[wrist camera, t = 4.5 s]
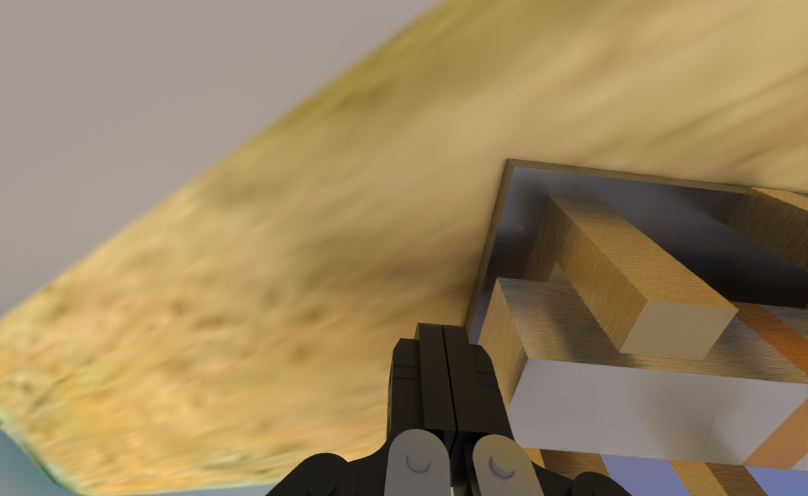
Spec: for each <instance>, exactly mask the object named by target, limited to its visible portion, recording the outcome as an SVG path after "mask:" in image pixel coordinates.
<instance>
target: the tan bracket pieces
mask: <svg viewBox="0 0 808 496" xmlns="http://www.w3.org/2000/svg"><path fill="white" fill-rule="evenodd" d="M522 280H530V281H539V282H549V283H559V284H568V285H573V287H574V288H575V289H576V291H577V292H578V294H579V295H580V297H581V298H582V300H583V301H584V302H585V304H586V305H587V307H588V308H589V310H590V311H591V313H592V314H593V316H594V317H595V318H596V320H597V321H598V323H599V324H600V326H601V327H602V329H603V330H604V331H605V333H606V334H607V336H608V337H609V339H610V340H611V342H612V343H613V345H614V346H615V347H616V349H617V350H618V352H621V353H632V354H642V355H653V356H663V357H674V358H685V359H695V360H703V358H704V357H705V356H706V354H707V353H708V351H709V350H710V349H711V347H712V346H713V345H714V343H715V342H716V340H717V339H718V338H719V336H720V335H721V334H722V332H723V331H724V329H725V328H726V327H727V325H728V324H729V323H730V321H731V320H732V318H733V317H734V316H735V314H736V313H737V312H738V310H739V309H738V308H736V307H735V306H734V305H733V304H731V303H730V302H729V301H728V300H726V299H725V298H724V297H723V296H721V295H720V294H719V293H718V292H716V291H715V290H714V289H712V288H711V287H710V286H709V285H707V284H706V283H705V282H704V281H702V280H701V279H700V278H699V277H697V276H696V275H695V274H694V273H692V272H691V271H690V270H689V269H687V268H686V267H685V266H684V265H682V264H681V263H680V262H678V261H677V260H676V259H675V258H673V257H672V256H671V255H670V254H668V253H667V252H666V251H665V250H663V249H662V248H661V247H660V246H658V245H657V244H656V243H655V242H653V241H652V240H651V239H649V238H648V237H647V236H646V235H644V234H643V233H642V232H641V231H639V230H638V229H637V228H636V227H634V226H633V225H632V224H631V223H629V222H628V221H627V220H626V219H624V218H623V217H622V216H620V215H619V214H618V213H617V212H615V211H614V210H613V209H612V208H610V207H609V206H608V205H607V204H605V203H604V202H596V201H587V200H579V199H570V198H561V197H552V196H549V199H548V202H547V205H546V208H545V211H544V214H543V217H542V220H541V223H540V226H539V229H538V232H537V235H536V238H535V241H534V244H533V247H532V250H531V253H530V256H529V259H528V262H527V265H526V268H525V271H524V274H523V277H522ZM802 309H808V302H807V303H806V304H805V305H804V306H803V308H802ZM523 450H524V451H525V452H526V453H527V455H528V456H529V458H530V460H532V461H533V462H534V463H536V464H537V465H539V466H541V467H543V468H545V469H547V470H550V471H552V472H555V473H557V474H560V475H562V476H565V477H567V478H570V479H572V480H574V479H575V478H576V476H578V475H579V474H581V473H583V472H597V473H600V474H603V475H605V476H607V477H609V478H610V475H609V473H608V471H607V469H606V467H605V465H604V463H603V461H602V458H601V456H600V454H596V453H583V452H571V451H559V450H547V449H535V448H523Z"/></svg>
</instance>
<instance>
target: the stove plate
mask: <svg viewBox="0 0 808 496" xmlns="http://www.w3.org/2000/svg"><path fill="white" fill-rule="evenodd" d="M747 189H748V187H744V186H735V185H727V184H718V183H710V182H701V181H693V180H684V179H676V178H668V177H659V176H651V175H642V174H634V173H625V172H617V171H608V170H600V169H591V168H583V167H574V166H566V165H557V164H549V163H541V162H532V161H524V160H515V159H507V163H506V167H505V171H504V175H503V179H502V182H501V186H500V190H499V194H498V198H497V202H496V206H495V210H494V214H493V217H492V221H491V225H490V229H489V233H488V237H487V241H486V245H485V249H484V252H483V256H482V260H481V264H480V268H479V272H478V276H477V280H476V284H475V287H474V291H473V295H472V299H471V303H470V307H469V311H468V315H467V319H466V322H465V326H464V327H465V328H466V331H467V335H468V340H469V344H478V341H479V337H480V334H481V330H482V327H483V324H484V320H485V317H486V313H487V310H488V306H489V303H490V300H491V296H492V293H493V289H494V286H495V282H496V279H497V277H501V278H511V279H520V280H522V277H523V274H524V271H525V268H526V265H527V262H528V259H529V256H530V253H531V250H532V247H533V244H534V241H535V238H536V235H537V232H538V229H539V226H540V223H541V220H542V217H543V214H544V211H545V208H546V205H547V202H548V199H549V196H552V197H561V198H570V199H579V200H587V201H596V202H604V203H605V204H607V205H608V206H609V207H610V208H612V209H613V210H614V211H615V212H617V213H618V214H619V215H620V216H622V217H623V218H624V219H626V220H627V221H628V222H629V223H631V224H632V225H633V226H634V227H636V228H637V229H638V230H639V231H641V232H642V233H643V234H644V235H646V236H647V237H648V238H649V239H651V240H652V241H653V242H655V243H656V244H657V245H658V246H660V247H661V248H662V249H663V250H665V251H666V252H667V253H668V254H670V255H671V256H672V257H673V258H675V259H676V260H677V261H678V262H680V263H681V264H682V265H684V266H685V267H686V268H687V269H689V270H690V271H691V272H692V273H694V274H695V275H696V276H697V277H699V278H700V279H701V280H702V281H704V282H705V283H706V284H707V285H709V286H710V287H711V288H712V289H714V290H715V291H716V292H718V293H719V294H720V295H721V296H723V297H724V298H725V299H726V300H728V301H731V302H741V303H751V304H760V305H770V306H779V307H789V308H799V309H802V308H803V306H804V305H805V304H806V303H807V302H808V272H807V271H805V270H803V269H802V268H800V267H798V266H796V265H795V264H793V263H791V262H789V261H787V260H786V259H784V258H782V257H780V256H779V255H777V254H775V253H773V252H771V251H770V250H768V249H766V248H764V247H763V246H761V245H759V244H757V243H755V242H754V241H752V240H750V239H748V238H747V237H745V236H743V235H741V234H739V233H738V232H736V231H734V230H732V229H731V228H729V227H727V226H725V225H726V223H727V222H728V220H729V218H730V217H731V215H732V213H733V212H734V210H735V208H736V207H737V205H738V204H739V202H740V200H741V199H742V197H743V195H744V194H745V192H746V190H747ZM792 193H795V192H792ZM795 194H797V195H800V196H803V197H805V198H808V194H803V193H795Z"/></svg>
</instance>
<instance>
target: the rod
mask: <svg viewBox="0 0 808 496" xmlns="http://www.w3.org/2000/svg"><path fill="white" fill-rule="evenodd" d="M729 302H730V303H731V304H733V305H734V306H735V307H736V308H738V309H739V310H738V312H737V313H736V314H735V316H734V317H733V318H732V320H731V321H730V323H729V324H728V325H727V327H726V328H725V329H724V331H723V332H722V334H721V335H720V336H719V338H718V339H717V340H716V342H715V343H714V345H713V346H712V347H711V349H710V350H709V351H708V353H707V354H706V356H705V357H704V358H703V360H695V359H685V358H674V357H663V356H653V355H642V354H632V353H621V352H618V350H617V349H616V347H615V346H614V345H613V343H612V342H611V340H610V339H609V337H608V336H607V334H606V333H605V331H604V330H603V329H602V327H601V326H600V324H599V323H598V321H597V320H596V318H595V317H594V316H593V314H592V313H591V311H590V310H589V308H588V307H587V305H586V304H585V302H584V301H583V300H582V298H581V297H580V295H579V294H578V292H577V291H576V289H575V288H574V287H573V285H568V284H559V283H549V282H539V281H530V280H520V279H511V278H501V277H497V279H496V282H495V286H494V289H493V293H492V296H491V300H490V303H489V306H488V310H487V313H486V317H485V320H484V324H483V327H482V330H481V334H480V337H479V341H478V344H477V345H481V346H482V347H483V348H484V350H485V351H486V352H487V353H488V355H489V356H490V357H491V360H492V363H493V367H494V370H495V376H496V377H497V381H498V384H499V388H500V391H501V395H502V398H503V402H504V405H505V409H506V412H507V416H508V419H509V423H510V426H511V430H512V434H513V436H514V439H515V441H516V443H517V444H518V445H520V446H521V447H522V448H535V449H547V450H559V451H571V452H583V453H596V454H608V455H621V456H632V457H644V458H657V459H669V460H681V461H693V462H705V463H718V464H730V465H742V466H755V467H766V468H779V469H791V470H803V471H808V309H799V308H789V307H779V306H770V305H760V304H751V303H741V302H731V301H729Z"/></svg>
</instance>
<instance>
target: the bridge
mask: <svg viewBox="0 0 808 496" xmlns="http://www.w3.org/2000/svg"><path fill="white" fill-rule="evenodd" d="M725 226H727V227H729V228H731V229H732V230H734V231H736V232H738V233H739V234H741V235H743V236H745V237H747V238H748V239H750V240H752V241H754V242H755V243H757V244H759V245H761V246H763V247H764V248H766V249H768V250H770V251H771V252H773V253H775V254H777V255H779V256H780V257H782V258H784V259H786V260H787V261H789V262H791V263H793V264H795V265H796V266H798V267H800V268H802V269H803V270H805V271H807V272H808V198H805V197H803V196H800V195H797V194H795V193H792V192H789V191H780V190H772V189H764V188H755V187H748V189H747V190H746V192H745V194H744V195H743V197H742V199H741V200H740V202H739V204H738V205H737V207H736V208H735V210H734V212H733V213H732V215H731V217H730V218H729V220H728V222H727V223H726V225H725ZM668 460H669V459H668ZM669 462H670V463H671V465H672V466H673V468H674V470H675V471H676V473H677V474H678V476H679V478H680V479H681V481H682V482H683V484H684V485H685V487H686V489H687V490H688V492H689V493H690V495H691V496H768V495H767V494H766V493H765V492H764V490H763V489H762V488H761V487H760V485H759V484H758V483H757V482H756V481H755V479H754V478H753V477H752V475H751V474H750V473H749V472H748V470H747V469H746V468H745V467H744V466H742V465H730V464H718V463H705V462H693V461H681V460H669Z"/></svg>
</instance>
